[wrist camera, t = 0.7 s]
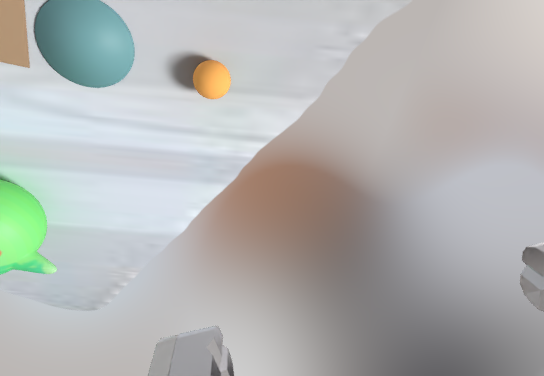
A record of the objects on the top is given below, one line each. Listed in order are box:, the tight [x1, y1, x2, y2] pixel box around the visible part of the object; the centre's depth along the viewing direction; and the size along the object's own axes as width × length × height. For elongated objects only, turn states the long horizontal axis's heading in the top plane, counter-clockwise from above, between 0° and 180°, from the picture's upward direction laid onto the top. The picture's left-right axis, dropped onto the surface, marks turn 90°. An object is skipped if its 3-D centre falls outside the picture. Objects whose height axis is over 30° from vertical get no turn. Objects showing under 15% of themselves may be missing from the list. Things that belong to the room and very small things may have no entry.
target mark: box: [35, 0, 134, 88], centre depth 45 cm, size 12×12×1 cm
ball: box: [193, 60, 231, 99], centre depth 49 cm, size 6×6×6 cm
